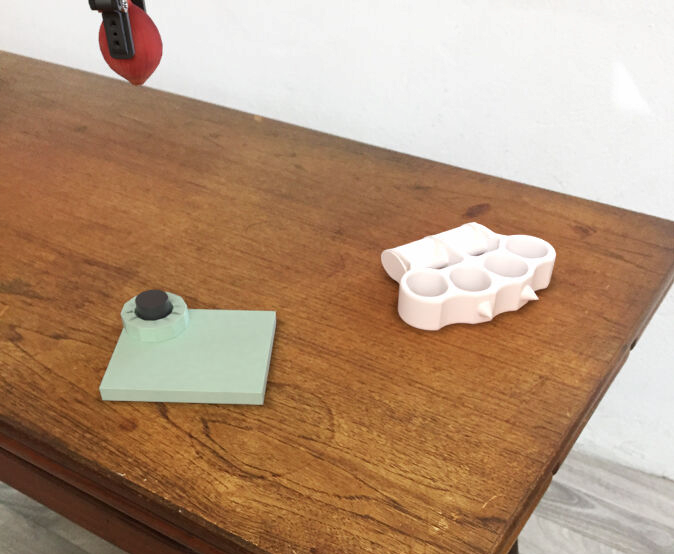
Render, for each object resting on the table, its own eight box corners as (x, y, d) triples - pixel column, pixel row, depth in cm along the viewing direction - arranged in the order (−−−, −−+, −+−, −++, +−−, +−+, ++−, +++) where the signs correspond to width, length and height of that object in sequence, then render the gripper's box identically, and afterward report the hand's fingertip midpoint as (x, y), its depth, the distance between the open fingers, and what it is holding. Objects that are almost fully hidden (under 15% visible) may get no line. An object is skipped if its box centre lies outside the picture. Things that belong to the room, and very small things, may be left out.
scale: (102, 400, 65) (94, 373, 63) (135, 316, 73) (129, 290, 71) (263, 404, 64) (260, 378, 62) (276, 320, 73) (275, 294, 71)
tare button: (134, 321, 68) (131, 307, 67) (142, 302, 70) (139, 288, 69) (167, 322, 68) (164, 308, 67) (173, 303, 70) (171, 289, 69)
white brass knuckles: (487, 234, 85) (579, 296, 76) (354, 279, 78) (439, 353, 69) (492, 206, 83) (587, 267, 74) (355, 250, 76) (442, 323, 67)
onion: (103, 79, 74) (84, -13, 69) (160, 72, 76) (146, -19, 70) (113, 99, 70) (94, 4, 65) (174, 91, 72) (160, -3, 66)
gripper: (115, -176, 54) (155, 73, 65) (154, -196, 64) (183, 23, 76) (11, -176, 54) (70, 72, 66) (67, -196, 64) (109, 23, 76)
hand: (130, 45), depth 71 cm, fingers closed on onion, 6 cm apart
